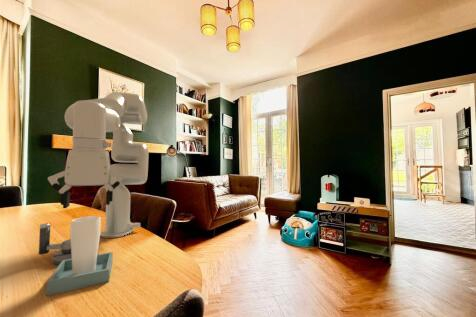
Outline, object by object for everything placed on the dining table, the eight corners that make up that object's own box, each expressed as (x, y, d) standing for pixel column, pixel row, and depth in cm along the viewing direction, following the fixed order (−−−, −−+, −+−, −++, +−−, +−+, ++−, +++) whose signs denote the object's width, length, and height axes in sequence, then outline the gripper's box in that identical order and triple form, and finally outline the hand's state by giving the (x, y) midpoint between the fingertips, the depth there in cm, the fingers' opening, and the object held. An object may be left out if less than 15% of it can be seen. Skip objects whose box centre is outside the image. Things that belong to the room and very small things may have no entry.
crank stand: (88, 260, 65) (88, 250, 65) (50, 268, 59) (51, 258, 59) (87, 244, 77) (87, 236, 77) (56, 250, 72) (56, 242, 72)
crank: (83, 246, 69) (84, 219, 69) (77, 252, 64) (79, 223, 65) (43, 251, 65) (44, 222, 65) (34, 257, 60) (36, 226, 60)
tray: (112, 262, 63) (112, 251, 64) (108, 281, 53) (109, 269, 53) (62, 271, 58) (62, 260, 58) (46, 296, 47) (46, 282, 47)
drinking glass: (74, 283, 50) (76, 223, 51) (64, 275, 54) (66, 219, 55) (103, 271, 56) (105, 217, 57) (92, 265, 60) (94, 214, 60)
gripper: (124, 147, 64) (123, 200, 64) (54, 144, 56) (52, 205, 56) (124, 146, 57) (122, 205, 57) (43, 143, 49) (41, 212, 49)
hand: (88, 205), depth 57 cm, fingers open, 9 cm apart
